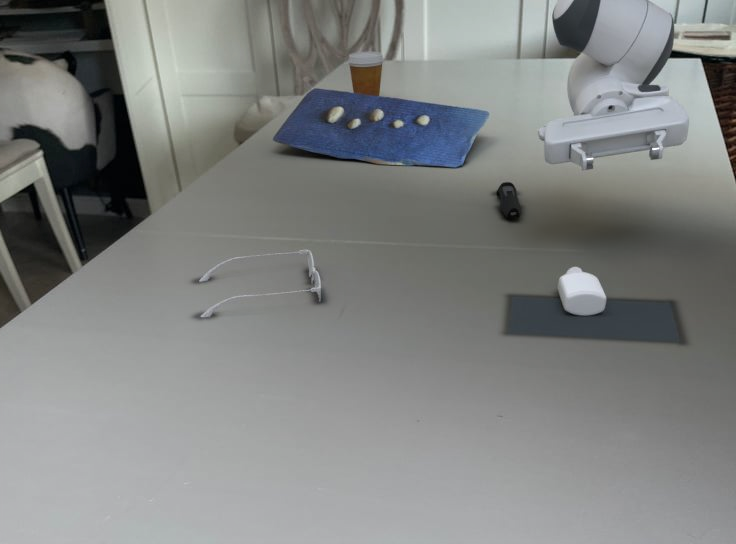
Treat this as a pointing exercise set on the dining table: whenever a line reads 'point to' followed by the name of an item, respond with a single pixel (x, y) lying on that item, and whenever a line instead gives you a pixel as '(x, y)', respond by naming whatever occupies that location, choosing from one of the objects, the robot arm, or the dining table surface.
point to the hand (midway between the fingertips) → (622, 159)
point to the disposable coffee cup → (366, 72)
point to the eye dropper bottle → (581, 293)
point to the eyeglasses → (311, 272)
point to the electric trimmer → (509, 200)
